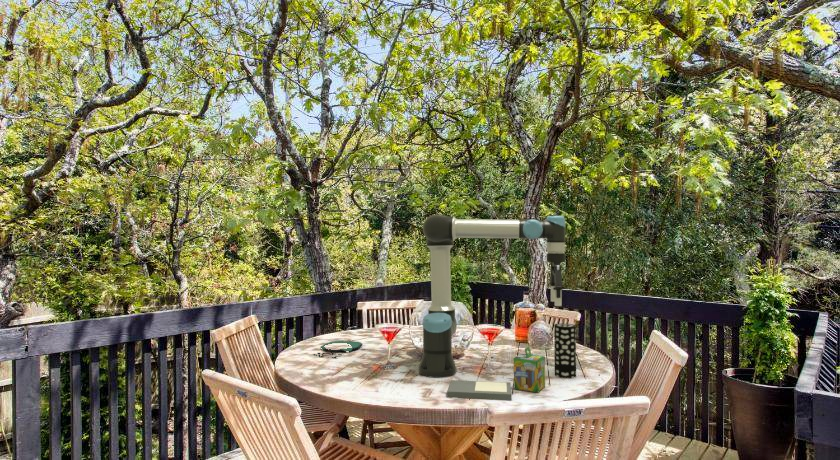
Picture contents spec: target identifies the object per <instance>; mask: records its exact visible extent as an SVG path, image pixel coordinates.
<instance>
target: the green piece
mask: <svg viewBox="0 0 840 460" xmlns="http://www.w3.org/2000/svg"><path fill="white" fill-rule="evenodd" d="M332 343H347V344H350V345H351V346H352V348H347V349H340V350H331V349H329V350H330V351H329V352H345V351H350V352H352V350H357V349H359V348H361V347H363V343H362V342H361V341H355V340H354V341H353V340H335V341H334V340H333V341H329V342H327V343H325V344H322V345H321V346H320V349H321V348H322V349H323V350H324V349H325V350H324V351H327V350H328V349H326V348H325V347H324V346H325V345H328V344H332ZM348 346H349V345H348ZM322 349H321V350H322ZM338 355H341V356H342V353H339V354H338ZM335 357H338V358H339V356H335Z"/></svg>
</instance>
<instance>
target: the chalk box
mask: <svg viewBox="0 0 840 460" xmlns="http://www.w3.org/2000/svg"><path fill="white" fill-rule="evenodd" d="M524 351H525V353H520V354H518V355H516V356H514V357H513V380H514V381H513V383H514V384H513V385H514V386H513V389H514V390H519V391H527V392H533V393H539V392H540V391H541V390H543V389H545V387H546V357H545V356H544V355H537V354H532V352H531V348H530V346H527V347H525V348H524Z"/></svg>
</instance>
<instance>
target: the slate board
mask: <svg viewBox="0 0 840 460" xmlns="http://www.w3.org/2000/svg"><path fill="white" fill-rule="evenodd" d="M511 385H512V384H511V382H510V381H508V382H507V381H484V380H483V381H482V380H481V381H479V380H462V379H461V380H460V379H459V380H458V379H450V381H449V384H448V387H447V390H446V398H452V397H458V398H457V399H475V400H498V401H512V397H513V396H512V386H511Z"/></svg>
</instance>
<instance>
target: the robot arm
mask: <svg viewBox="0 0 840 460" xmlns="http://www.w3.org/2000/svg"><path fill="white" fill-rule="evenodd" d="M422 233H423V235H424V236H425V238H426V247H427V249H429V251H430V255H429V257H430V286H431V287H430V289H431V291H430V292H431V293H430V294H431V295H430V296H431V305H430V307H428V312H427V314H425V316H424V317H423V321H422V336H423V337H422V343H423V344H422V346H423V347H422V350H423V351H422V352H423V353H422V357H421V360H420V363H419V368H418V372H419V374H420V375H421V374H422V376H424V377H430V378H447V377H451V376H454V375H456V373H457V366H456V363H455V360H454V356H453V351H452V350H453V349H452V346H453V345H452V344H453V343H452V340H453V339H452V336H453V335H454V334H455V332H456V330H457V327H458V326H457V325H458V324H457V323H458V322H457V320H456V319H457V318H456V309H455V306H453V304H452V280H451V276H452V274H451V250H452V248H453V247H454V241H455V240H456V239H459V238H460V239H463V238H464V239H521V240H522V239H525V240H527V239H529V240H536V239H546V252H547V253H546V262H548V263H550V280H549V284H550V302H552V303H553V302H554V306H555V307H562V306H563V305H562V303H563V302H562V301H563V300H562V298H563V296H562V295H563V293H562V291H563V290H562V289H563V275H562V264H561V263H565V262H566V253H565V252H566V247H567V244H566V219H565V217H564V216H562V215H548V216H546V219H544V220H537V219H532V218H531V219H490V218H489V219H485V218H484V219H482V218H481V219H480V218H478V219H471V218H469V219H468V218H466V219H465V218H464V219H463V218H460V219H459V218H456V217H455V216H446V215H443V214H433V215H430V216H428V217H427V218H426V219H425V220H424V222H423V225H422ZM560 264H561V265H560Z"/></svg>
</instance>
